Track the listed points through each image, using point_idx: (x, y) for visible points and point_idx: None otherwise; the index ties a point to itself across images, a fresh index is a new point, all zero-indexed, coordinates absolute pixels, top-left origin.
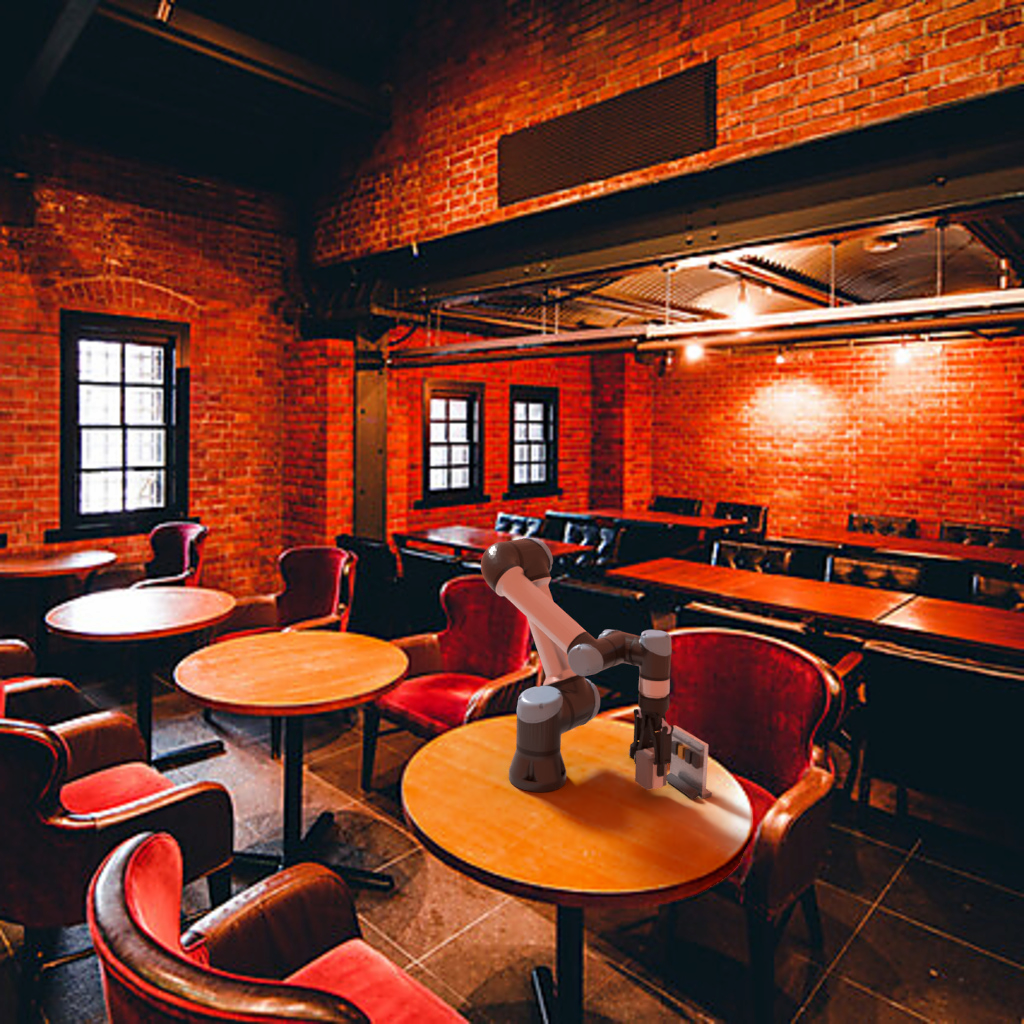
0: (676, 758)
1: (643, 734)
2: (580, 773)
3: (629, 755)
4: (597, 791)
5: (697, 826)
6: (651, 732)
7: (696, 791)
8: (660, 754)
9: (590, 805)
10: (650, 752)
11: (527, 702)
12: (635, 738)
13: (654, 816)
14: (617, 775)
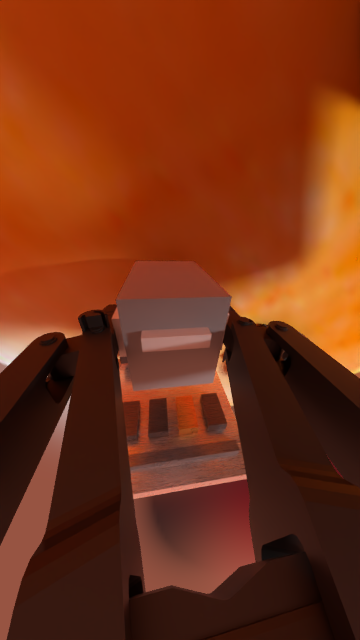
0: (203, 388)
1: (268, 415)
2: (347, 177)
3: (299, 332)
4: (249, 150)
5: (10, 298)
6: (79, 629)
7: (121, 361)
8: (33, 372)
9: (190, 16)
10: (162, 344)
11: None
12: (304, 349)
13: (67, 229)
14: (269, 269)
